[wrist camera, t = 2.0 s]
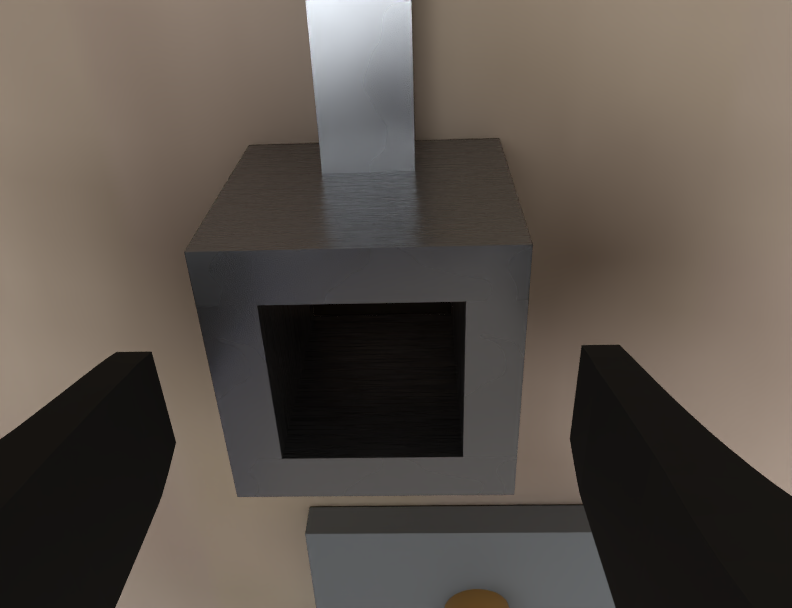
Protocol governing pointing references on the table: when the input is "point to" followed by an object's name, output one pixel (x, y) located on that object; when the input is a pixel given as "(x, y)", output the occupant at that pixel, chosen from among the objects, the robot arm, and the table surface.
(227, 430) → the link
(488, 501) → the table surface
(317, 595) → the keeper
